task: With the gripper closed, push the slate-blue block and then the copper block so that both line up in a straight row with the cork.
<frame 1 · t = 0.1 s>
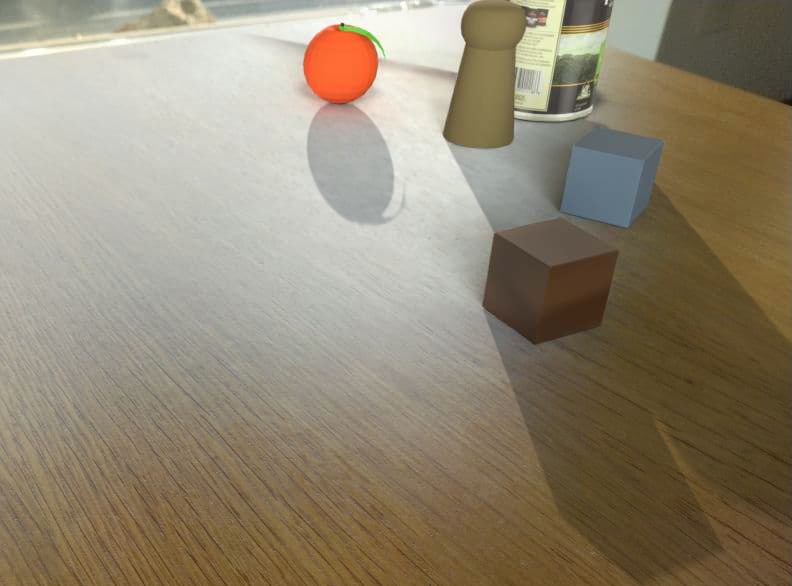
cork: (477, 137, 85), on the table
slate block: (604, 208, 72), on the table
clementine: (343, 104, 92), on the table
copper block: (540, 316, 59), on the table
coffee can: (535, 106, 92), on the table
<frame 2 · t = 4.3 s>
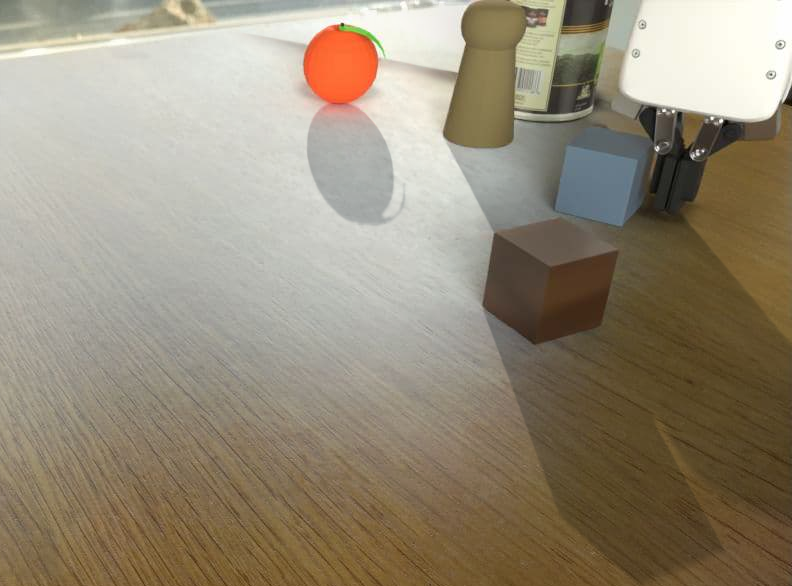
hand: (669, 206, 69), 1 cm above the table, tool pointing down, fingers closed
slate block: (598, 207, 73), on the table, touching gripper
everything else where it was.
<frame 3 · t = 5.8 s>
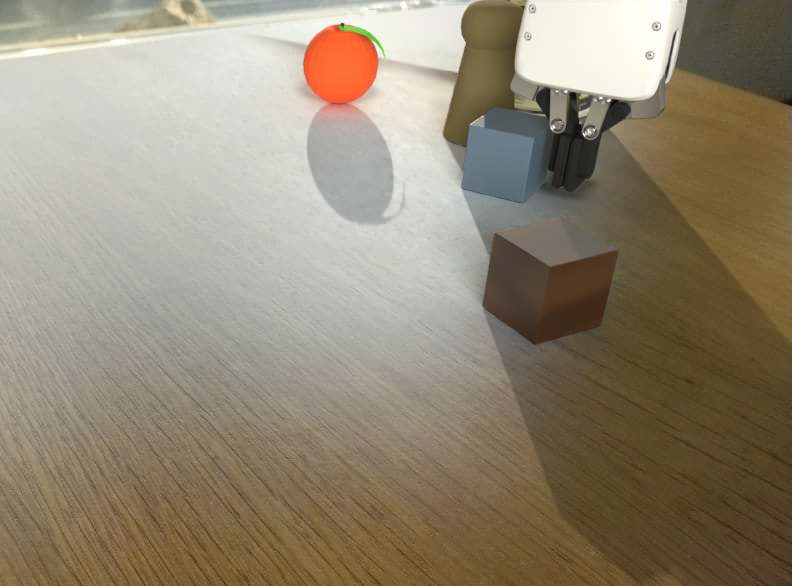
hand: (568, 183, 73), 1 cm above the table, tool pointing down, fingers closed
slate block: (503, 185, 76), on the table, touching gripper
everything else where it was.
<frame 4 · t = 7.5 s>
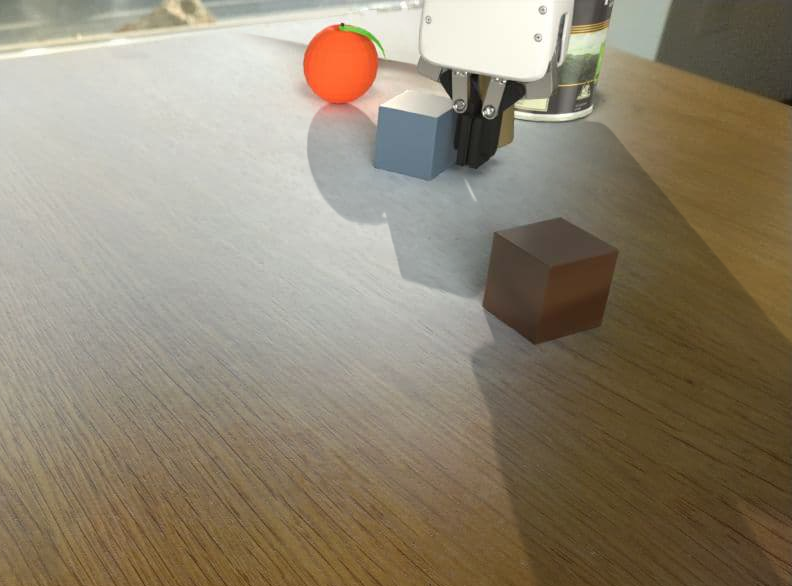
hand: (473, 161, 76), 1 cm above the table, tool pointing down, fingers closed
slate block: (415, 164, 79), on the table, touching gripper
everything else where it was.
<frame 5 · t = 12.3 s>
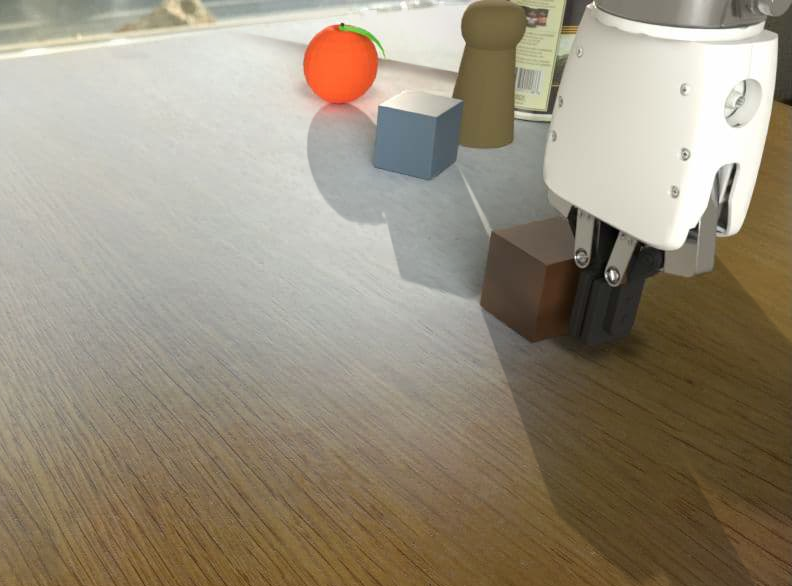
hand: (598, 334, 55), 1 cm above the table, tool pointing down, fingers closed
slate block: (415, 164, 79), on the table
copper block: (538, 314, 59), on the table, touching gripper
everything else where it was.
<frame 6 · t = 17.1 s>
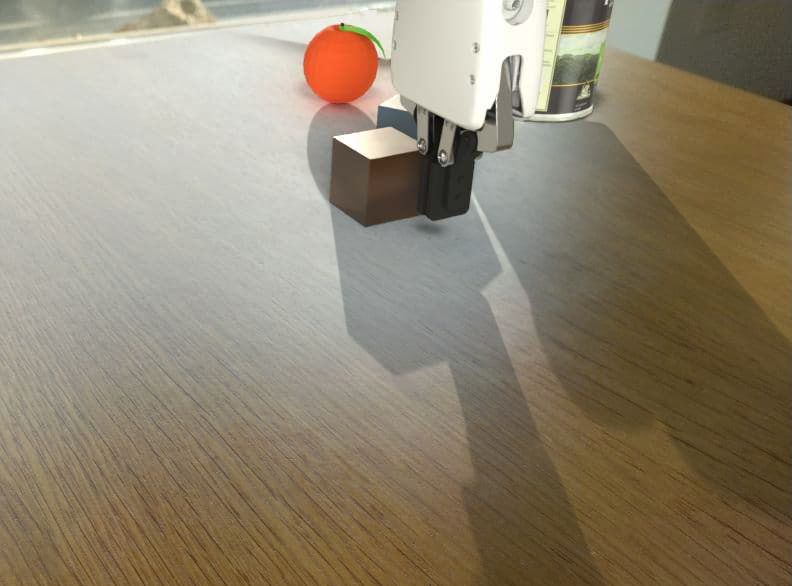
hand: (442, 212, 67), 2 cm above the table, tool pointing down, fingers closed
copper block: (375, 208, 72), on the table
everything else where it was.
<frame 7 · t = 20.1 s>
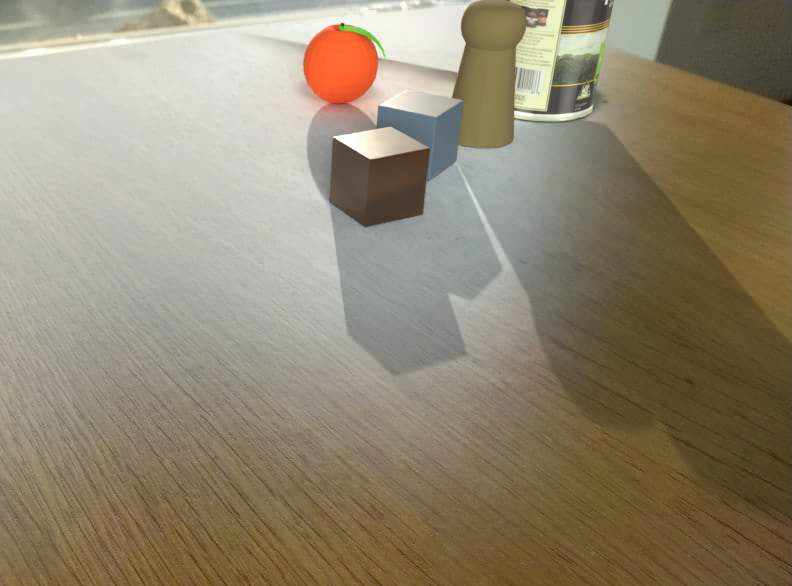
nothing on the table moved.
at the end: slate block 1.5 cm from the target spot on the table beside the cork, on the table; copper block 0.5 cm from the target spot on the table beside the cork, on the table; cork tilted 0° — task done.
